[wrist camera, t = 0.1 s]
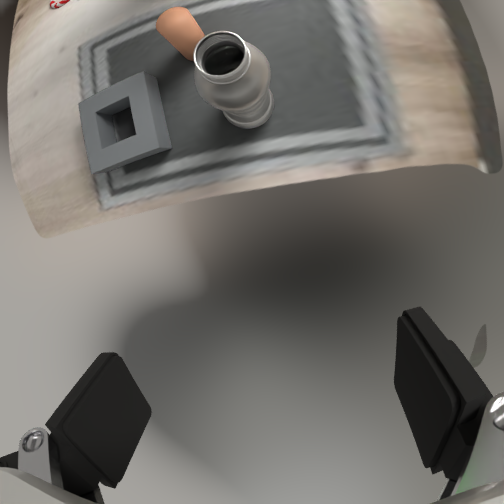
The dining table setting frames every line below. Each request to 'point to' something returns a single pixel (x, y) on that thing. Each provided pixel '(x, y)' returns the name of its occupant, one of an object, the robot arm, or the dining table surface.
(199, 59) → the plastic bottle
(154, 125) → the socket block
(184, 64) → the dining table surface
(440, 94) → the dining table surface
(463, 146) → the dining table surface
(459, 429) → the robot arm
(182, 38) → the peg
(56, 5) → the candy cane
